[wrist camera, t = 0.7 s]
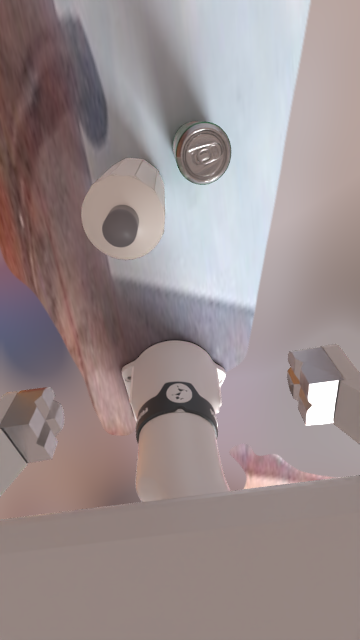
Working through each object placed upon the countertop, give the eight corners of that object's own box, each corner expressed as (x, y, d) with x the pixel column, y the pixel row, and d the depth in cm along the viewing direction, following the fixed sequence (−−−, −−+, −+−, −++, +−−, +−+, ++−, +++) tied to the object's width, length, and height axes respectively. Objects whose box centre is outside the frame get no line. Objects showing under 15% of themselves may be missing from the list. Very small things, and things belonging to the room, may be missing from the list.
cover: (162, 221, 42) (162, 274, 28) (107, 218, 41) (77, 270, 27) (165, 160, 38) (167, 185, 24) (103, 155, 37) (67, 178, 23)
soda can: (165, 132, 36) (166, 138, 26) (206, 113, 36) (223, 110, 26) (182, 176, 39) (188, 195, 29) (220, 158, 38) (240, 172, 28)
